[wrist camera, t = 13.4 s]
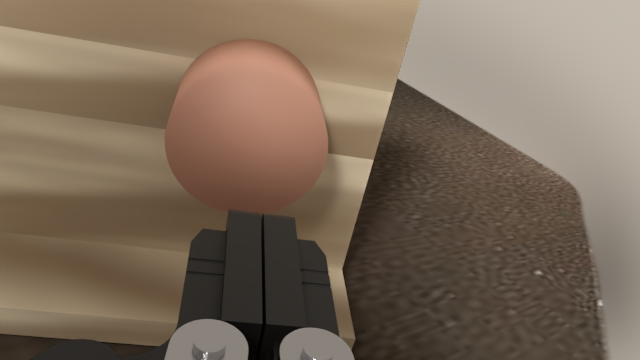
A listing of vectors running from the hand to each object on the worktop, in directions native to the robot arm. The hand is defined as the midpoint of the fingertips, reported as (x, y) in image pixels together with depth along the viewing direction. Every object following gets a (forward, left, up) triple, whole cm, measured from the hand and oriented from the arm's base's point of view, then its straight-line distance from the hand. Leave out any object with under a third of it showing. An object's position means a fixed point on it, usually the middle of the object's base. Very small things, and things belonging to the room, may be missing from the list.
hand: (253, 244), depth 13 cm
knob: (-9, +8, -3) cm, 12 cm away
